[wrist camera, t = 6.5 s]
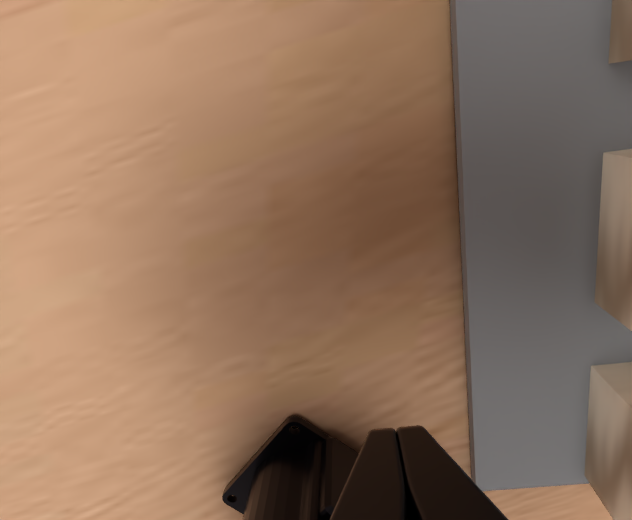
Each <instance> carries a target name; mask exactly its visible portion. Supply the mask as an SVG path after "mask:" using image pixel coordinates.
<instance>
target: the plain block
mask: <svg viewBox="0 0 632 520" xmlns="http://www.w3.org/2000/svg"><path fill="white" fill-rule="evenodd" d="M595 303H596V304H597V305H599V306H600V307H601V308H602V309H604V310H605V311H606V312H608V313H609V314H610V315H611V316H613V317H614V318H615V319H617V320H618V321H619V322H620V323H622V324H623V325H624V326H626V327H627V328H628V329H629V330H631V331H632V149H626V150H619V151H612V152H604V153H603V166H602V183H601V200H600V217H599V235H598V252H597V269H596V286H595Z"/></svg>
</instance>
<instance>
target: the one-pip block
mask: <svg viewBox="0 0 632 520" xmlns="http://www.w3.org/2000/svg"><path fill="white" fill-rule="evenodd" d="M584 476H585V477H586V479H587V480H588V482H589V483H590V485H591V486H592V488H593V489H594V491H595V492H596V494H597V495H598V497H599V498H600V500H601V501H602V503H603V504H604V506H605V507H606V509H607V510H608V512H609V513H610V515H611V516H612V518H613V519H614V520H632V362H625V363H615V364H605V365H594V366H591V372H590V389H589V406H588V423H587V440H586V457H585V475H584Z"/></svg>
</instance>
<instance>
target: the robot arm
mask: <svg viewBox="0 0 632 520" xmlns="http://www.w3.org/2000/svg"><path fill="white" fill-rule="evenodd" d="M291 426H297V427H298V429H293V428H292V427H291ZM232 495H234V496H232ZM222 498H223V501H224V503H226V504H227V505H228V506H230V507H232V508H234V509H235V510H237V511H239V512H240V513H242V514H244V516H243V520H508V519H507V518H506V517H505V516H504V514H503V513H502V512H501V511H500V510H499V509H498V508H497V507H496V506H495V505H494V504H493V502H492V501H491V500H490V499H489V498H488V497H487V496H486V495H485V494H484V493H483V492H482V490H481V489H480V488H479V487H478V486H477V485H476V484H475V483H474V482H473V481H472V480H471V478H470V477H469V476H468V475H467V474H466V473H465V472H464V471H463V470H462V469H461V468H460V466H459V465H458V464H457V463H456V462H455V461H454V460H453V459H452V458H451V457H450V456H449V454H448V453H447V452H446V451H445V450H444V449H443V448H442V447H441V446H440V445H439V444H438V442H437V441H436V440H435V439H434V438H433V437H432V436H431V435H430V434H429V433H428V432H427V430H426V429H425V428H424V427H422V426H419V425H417V426H406V427H399V428H398V429H397V431H395V430H394V429H393V428H383V429H373V430H371V431H369V433H368V435H367V437H366V439H365V441H364V443H363V446H362V448H361V450H360V452H359V454H358V453H357V452H355V451H354V450H352V449H351V448H349V447H347V446H346V445H344V444H343V443H341V442H340V441H338V440H337V439H335V438H332V437H330V436H329V435H327V434H325V433H324V432H322V431H321V430H319V429H318V428H316V427H315V426H313V425H311V424H310V423H308V422H307V421H305V420H304V419H302V418H300V417H298V416H292V417H289V418H288V419H286V421H285V422H284V423H283V424H282V425H281V426H280V427H279V428H278V430H277V431H276V432H275V433H274V434H273V435H272V436H271V437H270V439H269V440H268V441H267V442H266V443H265V444H264V445H263V446H262V447H261V449H260V450H259V451H258V452H257V453H256V454H255V455H254V456H253V458H252V459H251V460H250V461H249V462H248V463H247V464H246V465H245V467H244V468H243V469H242V470H241V471H240V472H239V473H238V474H237V476H236V477H235V478H234V479H233V480H232V481H231V482H230V483H229V484H228V486H227V487H226V488H225V490H224V493H223V496H222Z"/></svg>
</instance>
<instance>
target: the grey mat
mask: <svg viewBox="0 0 632 520" xmlns="http://www.w3.org/2000/svg"><path fill="white" fill-rule="evenodd" d="M611 12H612V0H450V18H451V39H452V61H453V83H454V105H455V127H456V149H457V171H458V192H459V214H460V236H461V258H462V280H463V302H464V324H465V345H466V367H467V389H468V411H469V433H470V455H471V477H472V481H473V482H474V483H475V484H476V485H477V486H478V487H479V488H480V489H481V490H482V491H491V490H505V489H519V488H533V487H546V486H560V485H574V484H588V483H589V482H588V480H587V479H586V477H585V476H584V475H585V457H586V440H587V423H588V406H589V389H590V372H591V366H594V365H605V364H615V363H625V362H632V331H631V330H629V329H628V328H627V327H626V326H624V325H623V324H622V323H620V322H619V321H618V320H617V319H615V318H614V317H613V316H611V315H610V314H609V313H608V312H606V311H605V310H604V309H602V308H601V307H600V306H599V305H597V304H596V303H595V286H596V269H597V252H598V235H599V217H600V200H601V183H602V166H603V153H604V152H612V151H619V150H626V149H632V60H630V61H623V62H617V63H610V64H608V63H609V46H610V29H611Z"/></svg>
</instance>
